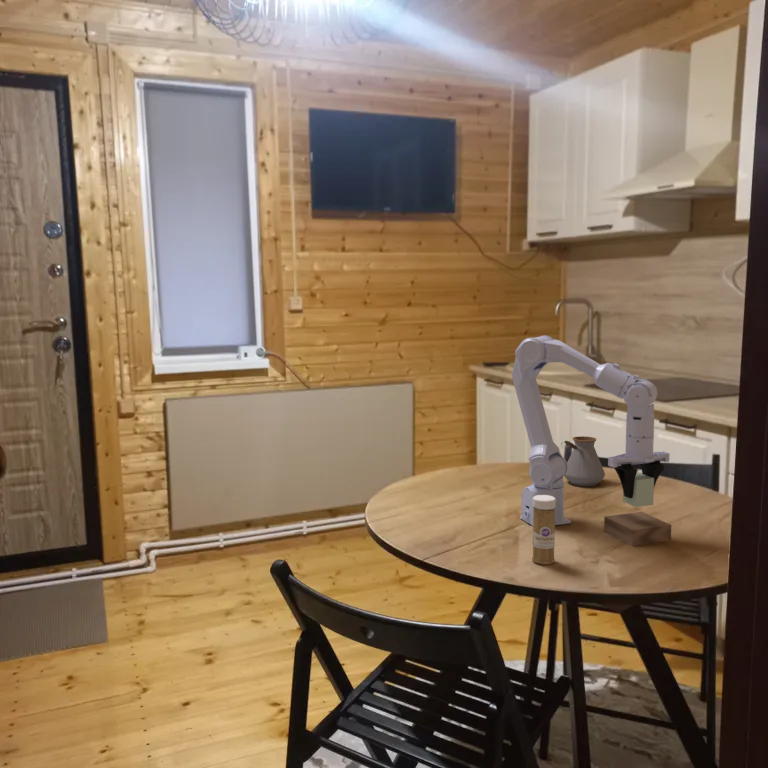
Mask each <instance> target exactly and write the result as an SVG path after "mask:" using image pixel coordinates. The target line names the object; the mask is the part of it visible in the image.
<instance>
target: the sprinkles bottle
mask: <svg viewBox="0 0 768 768" xmlns="http://www.w3.org/2000/svg"><path fill="white" fill-rule="evenodd" d="M555 507H556V499H555V497H553V496H549V495H536V496H534V497H533V526H532V559H531V560H532V561H533V562H534V563H535V564H538V565H544V566H546V565H552V564H554V563H555V561H556V559H555V544H556V541H555V539H556V538H555V537H556V525H555Z"/></svg>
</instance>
